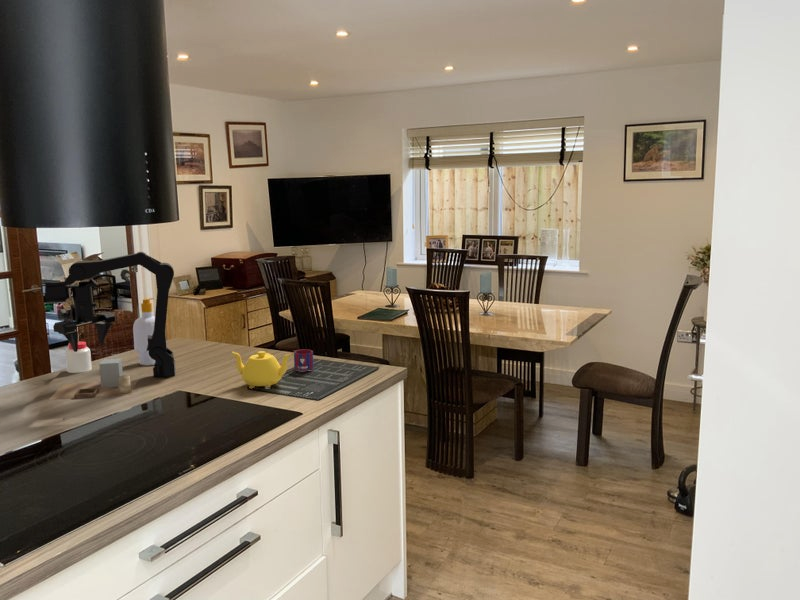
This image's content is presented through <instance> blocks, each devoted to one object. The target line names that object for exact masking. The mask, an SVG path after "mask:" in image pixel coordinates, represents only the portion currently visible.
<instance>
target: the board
mask: <svg viewBox="0 0 800 600" xmlns="http://www.w3.org/2000/svg"><path fill="white" fill-rule="evenodd" d="M139 381H140V379H130V384H131V392H130V393H128V394H120V388H119V387H105V388H101V381H94V382H92V381H91V382H77V383H62V385H60V387H59V388H58V389H57V390H56V391H55V393H54V394H53V395H52V396H51V397H50V398H49V399H48V400H49V401H56V400H68V399H69V400H71V399H72V400H73V399H85V398H86V399H87V398H97V397H98V398H99V397H113V396H114V397H115V396H128V395H132V394H133V392H134V390H135V388H136V387H137V384H138V383H139Z"/></svg>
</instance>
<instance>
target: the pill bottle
mask: <svg viewBox="0 0 800 600" xmlns="http://www.w3.org/2000/svg"><path fill="white" fill-rule="evenodd" d="M64 354H65V363H66V372H67V373H70V374H71V373H72V374H80V373H85V372H89V371H92V370H93V368H92V356H91V355H92V354H91V349H90V348H89V347H88V346H87V342H86V341H78V350H77V352H74V350H73V349H72V347H71V345H70V343H69V342H68V348H67V349H66V350H65V353H64Z"/></svg>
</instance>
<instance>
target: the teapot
mask: <svg viewBox="0 0 800 600" xmlns="http://www.w3.org/2000/svg"><path fill="white" fill-rule="evenodd" d="M231 353H232V354H233V355H234V356H235V358H236V369H237V372H238V373H239V374H240V375H241V378H242V379H241V380H243V381H244V383H245V384H247V385H248V387H249V388H253V387H255V386H256V387H264V388H265V387H270V386H272V385H276V384H278V383H279V382H280V380H281V379H282V377H283V376H284V375H285V373H286V372H287V369H288V358H289V356H290V355H292V352H290V353H286V354H285V355H283V357H282V364H281V365H280V363H279V362H278V360H277V358H276V357H275V356H274V355H273V354H270V353H269V352H266V351H264V350H261V351H257V354H253V355H251V356H249V357H248V359H247V361H246V362H245V364H244V363H243V362H242V357H241V355H240V353H238V352H236V351H231ZM256 387H255V388H256Z"/></svg>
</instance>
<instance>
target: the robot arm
mask: <svg viewBox="0 0 800 600" xmlns="http://www.w3.org/2000/svg"><path fill="white" fill-rule="evenodd" d="M134 266H141V267H142V268H144V269H146V270H147V271H148V272H150V273H152V274H154V275H155V284H156V302H155V311H154V313H155V314H154V316H155V322H154V331H153V334H152V336H151V335H148V344H147V349H146V351H148V350H149V356H150V357H151V358H152V359H154V360H155V361H156V362H155V365H153V367H152V373H153V375H152V376H153V378H159V379H167V378H171V377H176V375H177V372H176V368H177V367H176V360H175V356H174V352H173V351H172V350H170V348H169V347H167V338H166V337H167V335H166V325H167V317H168V316H167V314H168V303H169V292H170V289H171V286H172V282H173V280H174V276H175V271H174V268H173V266H172V265H171V264H170V263H168V262H161V261H159V260H157V259H155V258H153V257H152V256H150V255H148V254H146V252H144V251H137V252H135V253H130V254H126V255H120V256H116V257H111V258H106V259H102V260H78V261H74V263H72V264H71V265H70V266H69V267H68V275H67V277H65V279H64V281H63V280H62V281H61V280H60V281H45V283H44V285H45V287H44V300H45V303H46V304H56V303H57V304H58V303H59V304H61V303H67V302H68V299H71V298H72V303H73V304H70V309H68V310H67V309H66V308H62V309H58V310H57V318H58V320H60V321H57V322H55V323H54V324H53V325H52V326H53V327H52V328H53V332H55V333H58V334H60V335H63V336H64V337H65V338H66V340H67V341H68V344H69V343H70V345H71V347H72V349H73V350H74V352H77V350H78V342H79V332H78V331H77V328H78V327H83V326H87V325H92V324H94V327H95V328H96V330H97V340H98V345H100V346H102V345H103V344H104V342H105V339H106V336H107V333H108V332H109V330H110V328H111V326H112V325H113V324H114V322H116V321H117V319H116V318H117V317H116V315H115V314H114V313H113V312H107V311H102V312H99V313H95V307H97V302H94V297H93V288H92V287H97V286H98V285H99V283H98V282H97V281H96V280H94V279H93V278H92V277H95V276H97V275H99V274H102V273H106V272H111V271H116V270H121V269H125V268H130V267H134ZM89 278H90V279H89ZM87 279H89V280H87ZM85 280H86V281H85ZM75 282H78V284H74V283H75Z"/></svg>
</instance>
